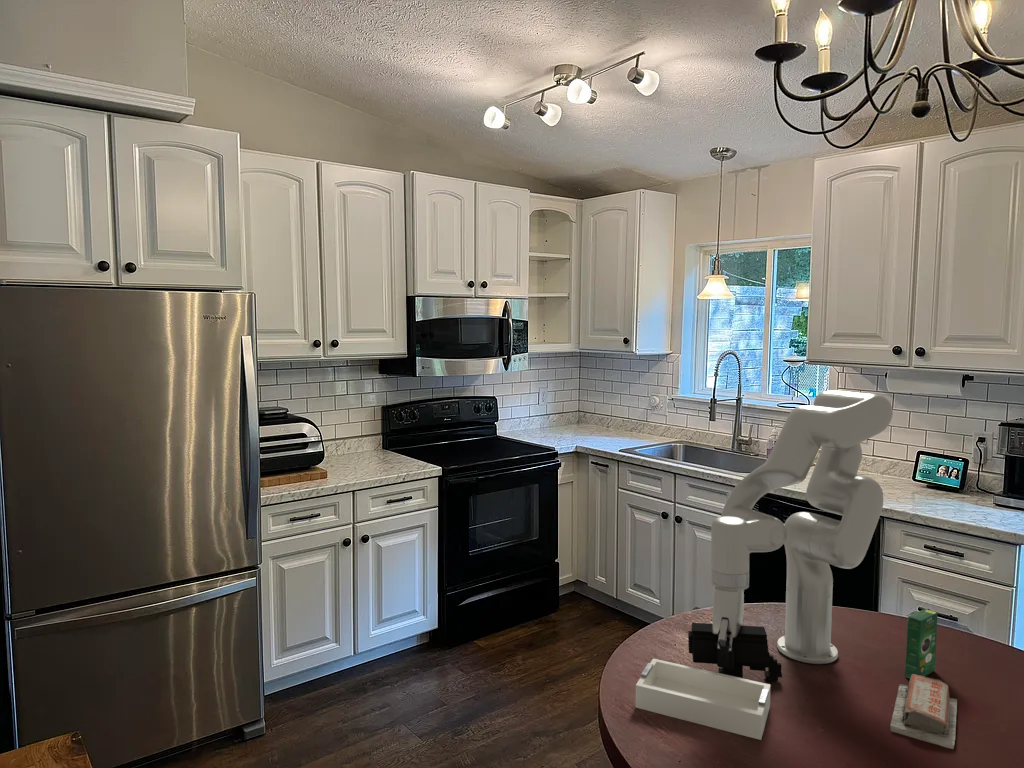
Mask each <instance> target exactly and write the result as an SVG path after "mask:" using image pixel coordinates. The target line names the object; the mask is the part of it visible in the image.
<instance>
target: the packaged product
mask: <svg viewBox="0 0 1024 768" xmlns="http://www.w3.org/2000/svg"><path fill="white" fill-rule="evenodd" d="M898 685H899V686H898V689H897V695H896V699H895V703H894V707H893V712H892V716H891V721H890V726H889V727H890V732H892V733H896V734H899V735H903V736H906V737H909V738H913V739H916V740H919V741H922V742H927V743H930V744H933V745H937V746H939V747H940V746H941V747H944V748H946V749H951V750H954V748H955V744H956V743H955V741H956V736H957V735H956V731H957V730H956V728H957V714H958V699H957V698H952V697H950V690H949V689H950V688H949V685H948V684H947V683H946V682H943V681H942V680H941V679H938V678H937V679H935V678H933V677H928V676H920V675H916V674H912V675H911V677H910V679H909V681H908V685H906V684H904V683H903V684H902V683H901V684H898Z"/></svg>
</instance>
